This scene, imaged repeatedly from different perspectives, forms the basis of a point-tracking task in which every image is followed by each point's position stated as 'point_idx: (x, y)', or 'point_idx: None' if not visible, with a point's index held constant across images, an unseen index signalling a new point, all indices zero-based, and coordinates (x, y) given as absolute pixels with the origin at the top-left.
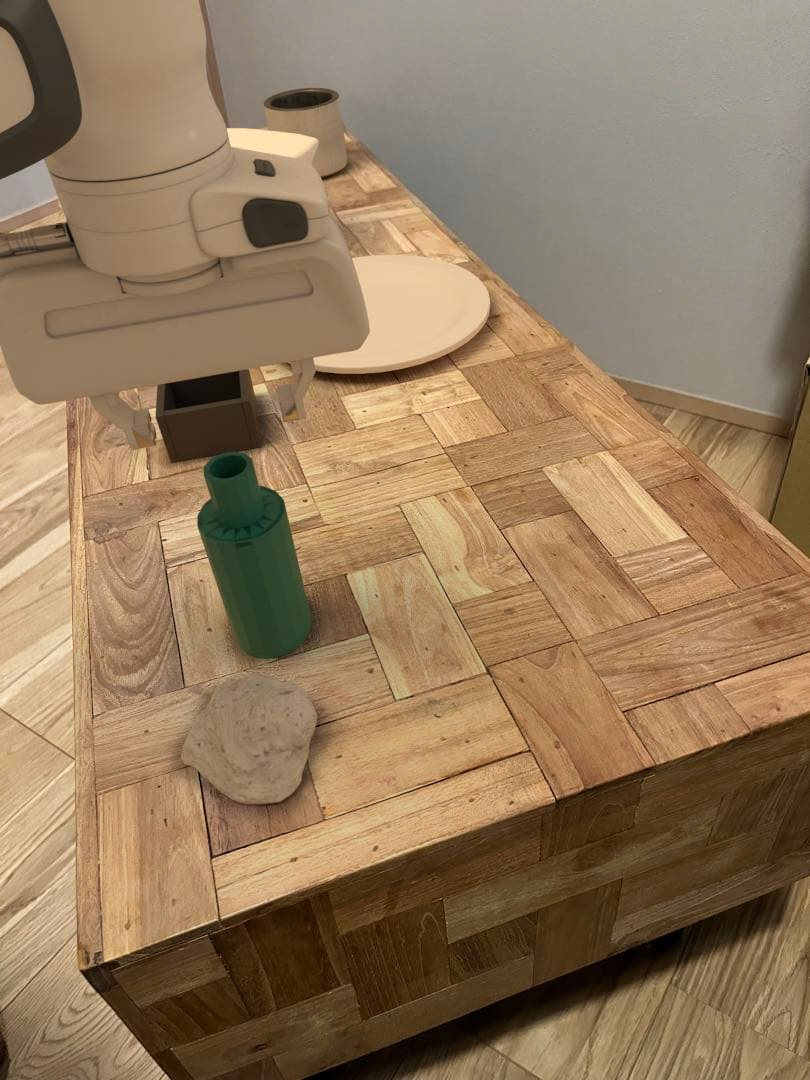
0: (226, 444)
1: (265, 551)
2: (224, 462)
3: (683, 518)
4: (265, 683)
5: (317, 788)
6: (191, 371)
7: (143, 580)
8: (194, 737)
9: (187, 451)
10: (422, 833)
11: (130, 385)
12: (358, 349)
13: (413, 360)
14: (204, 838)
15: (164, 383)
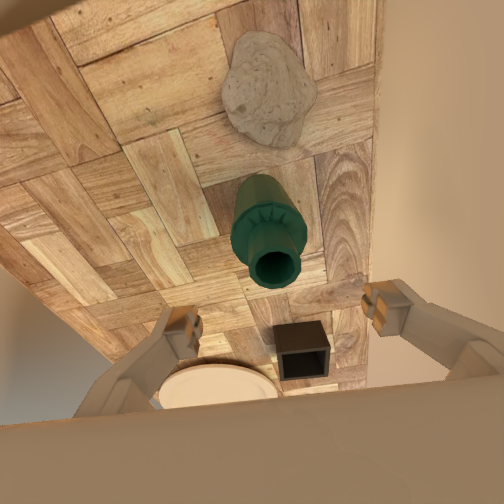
0: (290, 328)
1: (248, 202)
2: (280, 278)
3: (26, 256)
4: (258, 129)
5: (222, 47)
6: (328, 419)
7: (337, 243)
8: (308, 91)
9: (311, 325)
10: None
11: (488, 390)
12: (225, 377)
13: (193, 369)
14: (301, 3)
15: (390, 386)
